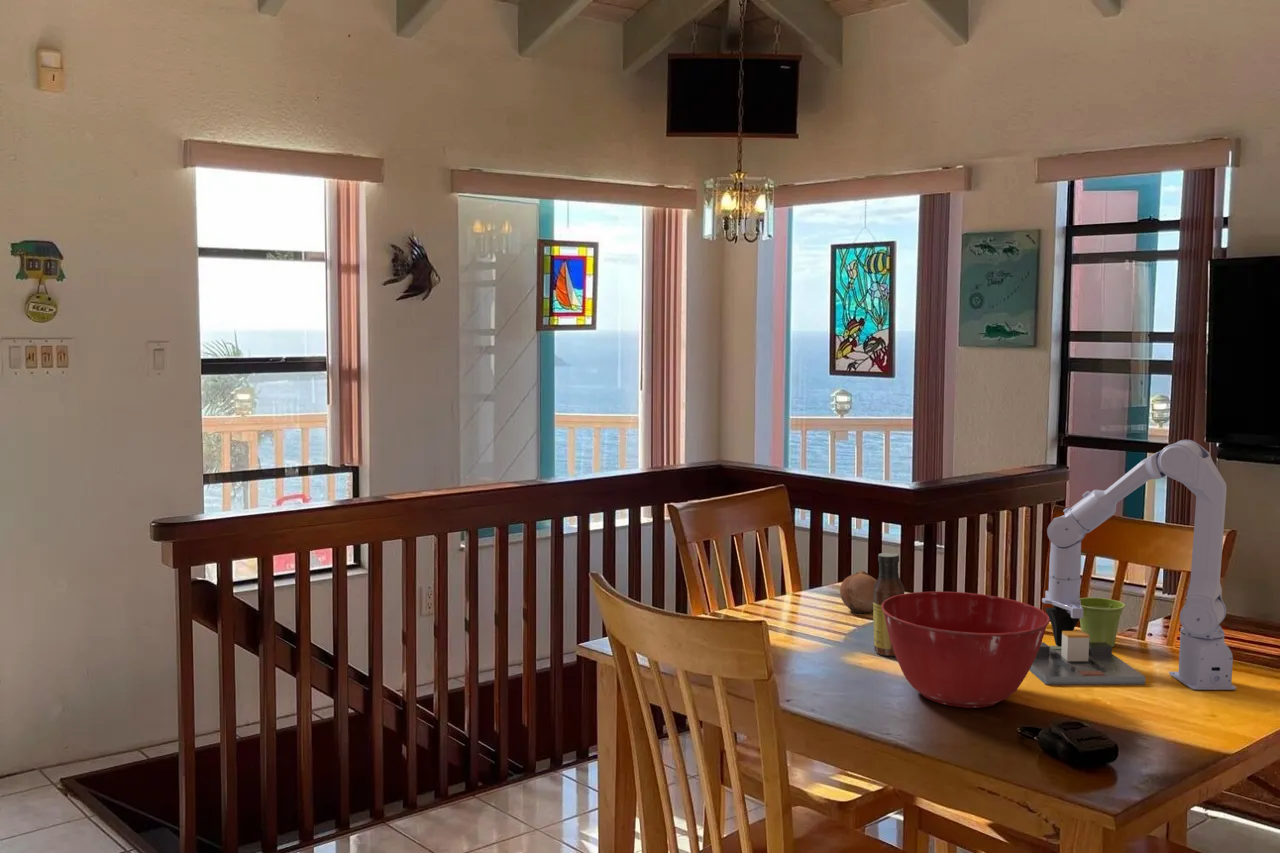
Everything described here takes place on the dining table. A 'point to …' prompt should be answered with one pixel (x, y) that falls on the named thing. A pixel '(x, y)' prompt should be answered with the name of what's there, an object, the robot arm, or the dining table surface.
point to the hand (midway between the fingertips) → (1062, 645)
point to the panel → (1084, 667)
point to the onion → (858, 592)
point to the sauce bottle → (883, 590)
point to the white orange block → (1075, 645)
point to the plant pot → (1101, 619)
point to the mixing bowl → (964, 644)
